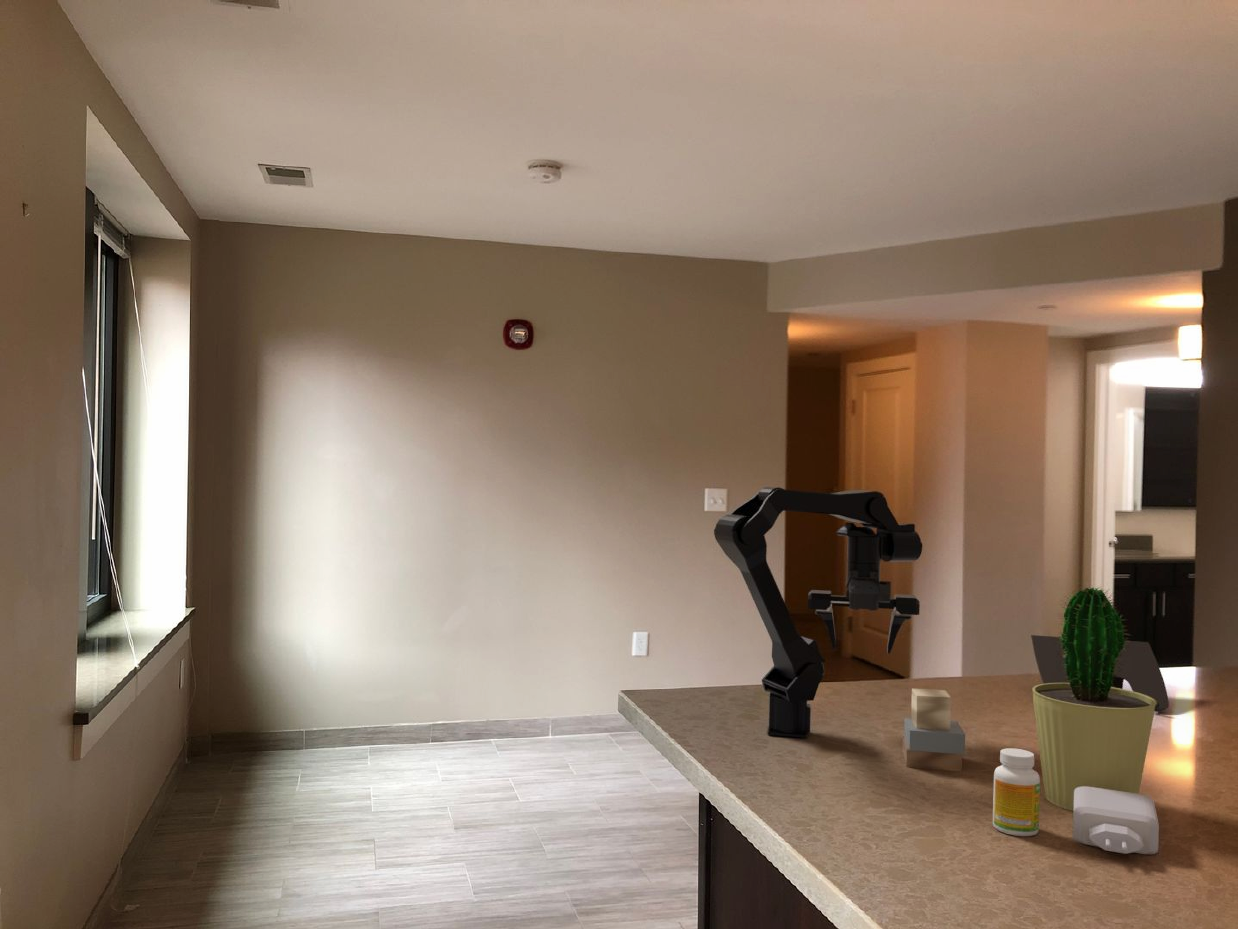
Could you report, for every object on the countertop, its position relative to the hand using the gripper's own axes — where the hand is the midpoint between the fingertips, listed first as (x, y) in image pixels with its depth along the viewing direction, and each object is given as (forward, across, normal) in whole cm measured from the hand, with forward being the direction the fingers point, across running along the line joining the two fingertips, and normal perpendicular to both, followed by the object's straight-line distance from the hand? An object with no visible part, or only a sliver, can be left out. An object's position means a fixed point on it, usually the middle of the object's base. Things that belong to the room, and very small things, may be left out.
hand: (861, 651), depth 175 cm
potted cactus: (+13, +30, -32) cm, 46 cm away
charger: (+14, +29, -48) cm, 58 cm away
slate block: (+10, +11, -18) cm, 24 cm away
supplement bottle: (+13, +18, -46) cm, 51 cm away
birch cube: (+7, +10, -18) cm, 22 cm away
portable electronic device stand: (+14, +48, +36) cm, 61 cm away
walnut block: (+13, +10, -18) cm, 25 cm away
